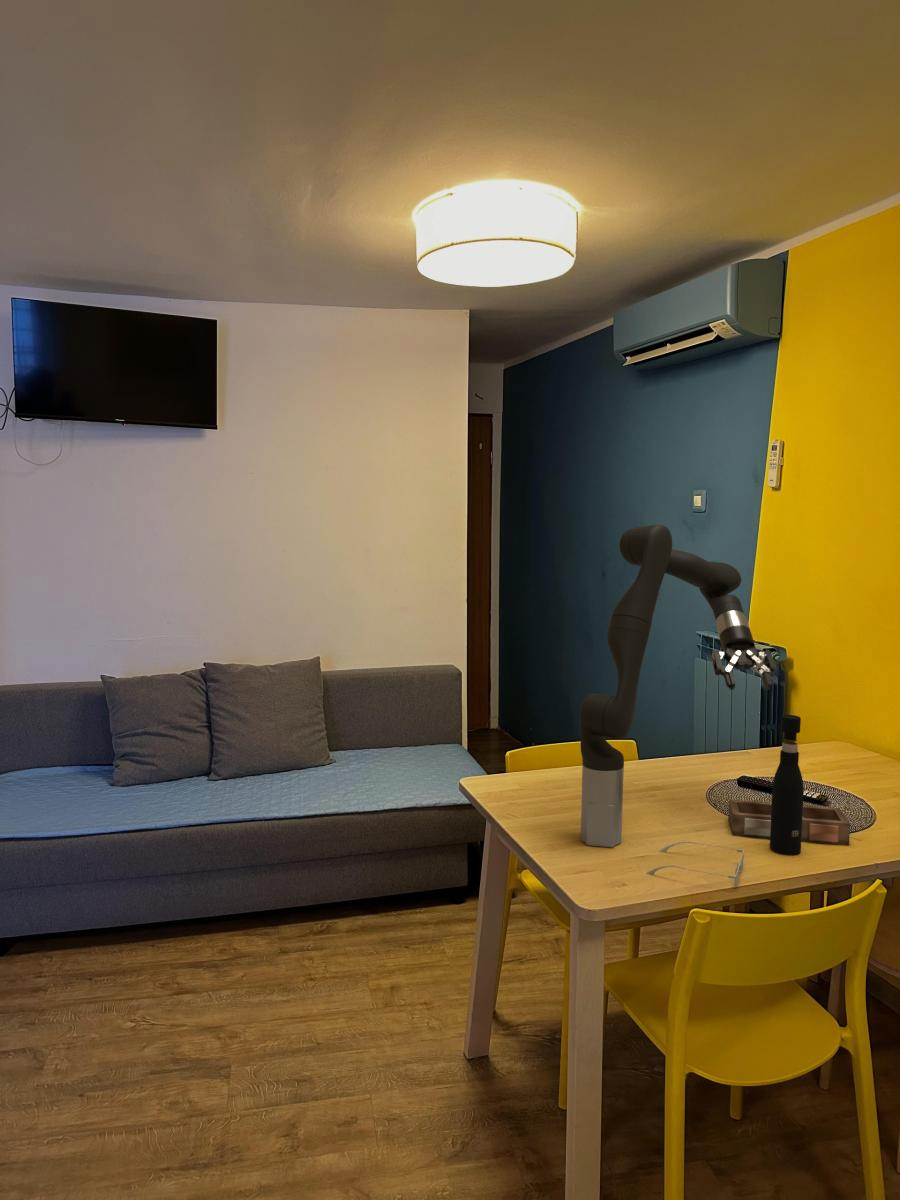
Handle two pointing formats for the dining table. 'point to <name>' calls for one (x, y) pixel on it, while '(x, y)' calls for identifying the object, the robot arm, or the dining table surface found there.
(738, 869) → the eyeglasses
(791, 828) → the black insulated water bottle
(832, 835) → the socket board
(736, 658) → the robot arm
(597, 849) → the dining table surface
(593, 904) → the dining table surface
